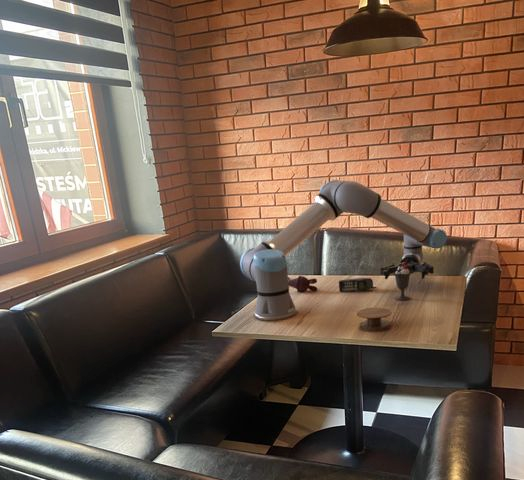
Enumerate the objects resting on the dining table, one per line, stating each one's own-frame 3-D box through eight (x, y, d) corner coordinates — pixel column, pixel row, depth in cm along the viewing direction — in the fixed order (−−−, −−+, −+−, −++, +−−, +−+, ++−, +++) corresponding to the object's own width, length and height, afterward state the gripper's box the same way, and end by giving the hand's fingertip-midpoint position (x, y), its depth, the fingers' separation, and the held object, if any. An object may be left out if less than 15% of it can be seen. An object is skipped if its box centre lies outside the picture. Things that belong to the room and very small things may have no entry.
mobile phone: (338, 281, 218) (376, 277, 215) (338, 279, 221) (375, 276, 217) (339, 292, 220) (376, 289, 216) (339, 291, 222) (376, 288, 219)
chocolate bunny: (280, 279, 224) (314, 282, 219) (285, 271, 230) (319, 273, 225) (281, 293, 228) (315, 296, 223) (286, 285, 234) (319, 287, 229)
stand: (351, 325, 178) (350, 311, 177) (380, 319, 181) (379, 305, 180) (367, 334, 169) (367, 319, 167) (398, 328, 172) (398, 313, 170)
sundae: (412, 300, 198) (412, 260, 193) (393, 301, 199) (393, 261, 194) (411, 296, 204) (411, 257, 199) (393, 296, 205) (392, 258, 200)
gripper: (441, 271, 218) (438, 284, 200) (380, 272, 227) (371, 285, 209) (442, 253, 216) (438, 264, 197) (379, 254, 225) (370, 266, 206)
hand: (404, 275), depth 203 cm, fingers open, 13 cm apart
